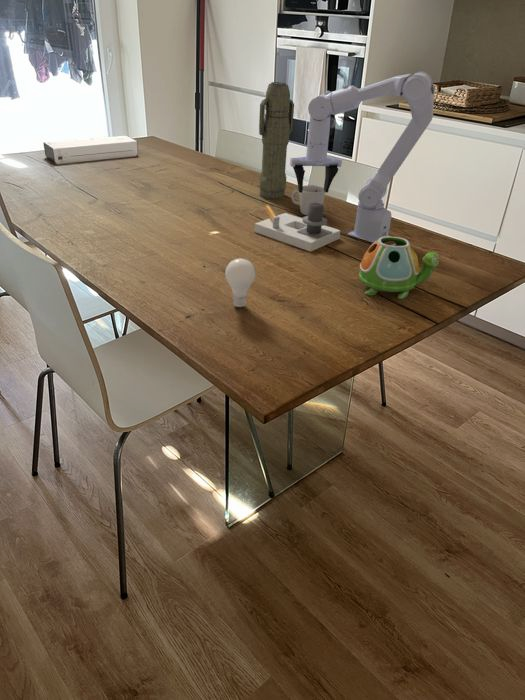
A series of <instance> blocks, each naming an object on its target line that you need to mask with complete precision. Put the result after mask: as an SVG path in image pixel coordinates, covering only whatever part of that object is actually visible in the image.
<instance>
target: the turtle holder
mask: <svg viewBox="0 0 525 700" xmlns="http://www.w3.org/2000/svg"><path fill="white" fill-rule="evenodd" d="M388 242H393V244H386V243H388ZM410 244H411V243H410V242H409V240H408V239H406V238H403V237H398V236H389V237H388V236H386V237H381V238H379V239H378V240H377V241H376V242H374V243H372V244H371V245H370V246H369V247H368V249H367V250H366V251H365V252H364V255H363V256H362V257H363V258H362V259H361V262H360V263H359V273H358V277H359V280H360V282H361V283H362V284H363V285H365V286H366V287H368V288H369V289H367V290H365V292H364V294H365V295H367V296H376V295H377V293H378V292H379V291H381V292H388V293H399V294H397V296H396V297H397V299H398V300H405V299H406V298H407V297H408V295H409V293H410V291H411V290H413V289H414V288H415V287H416V285H420V284H421V285H422V284H423V283H425V282H426V281H427V280H428V279H429V278H430V277H431V275H432V274H433V272H434V269H436V268H437V267H438V266H439V264H440V261H439V260H440V259H439V254H438V252H432V251H429V252H428V253H427V252H426V254H425V255H424V256H423V257H422V260H421V261H422V266H421V269H420V271H419V267H420V266H419V258H418V256H417V253H416V250H414V248H413V247H412V245H410Z"/></svg>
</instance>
